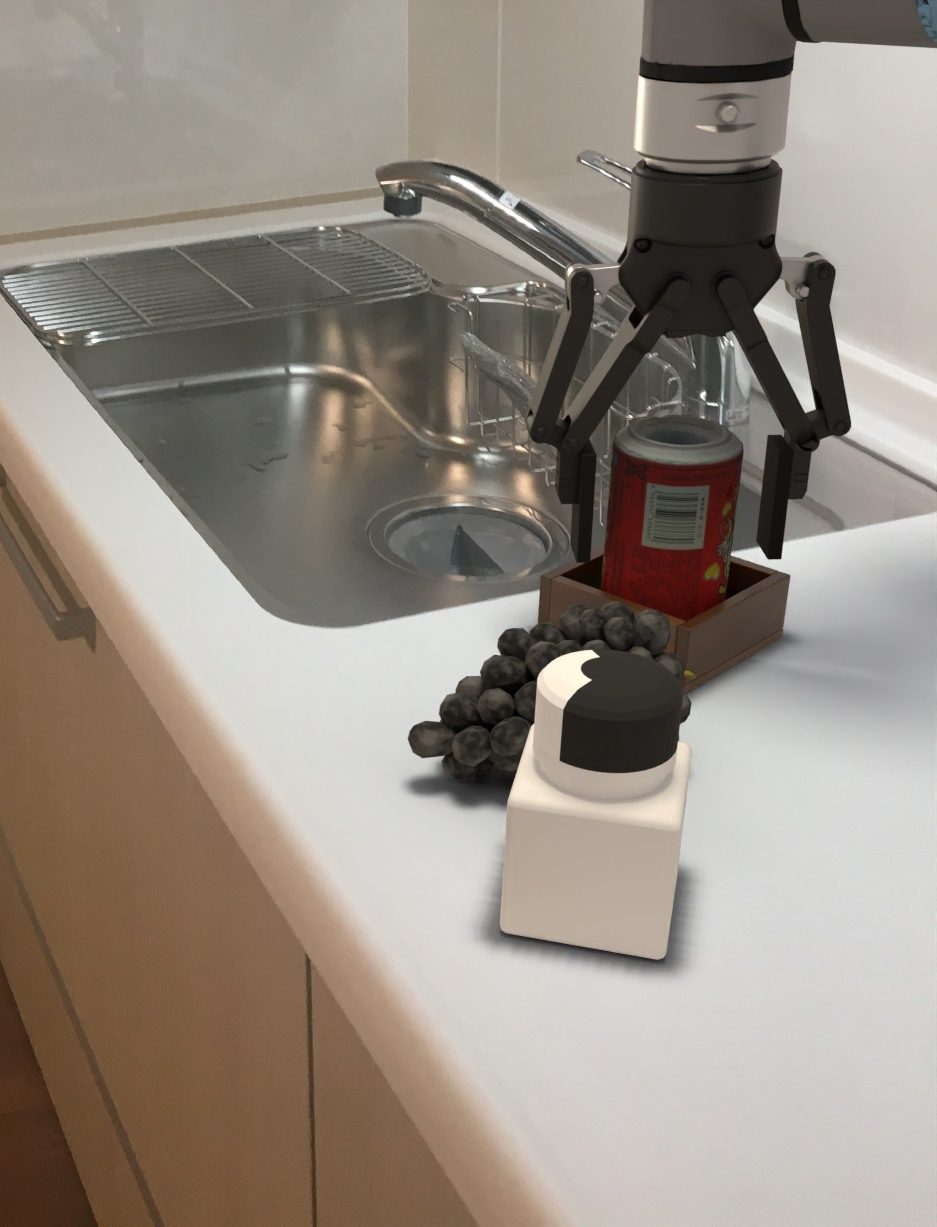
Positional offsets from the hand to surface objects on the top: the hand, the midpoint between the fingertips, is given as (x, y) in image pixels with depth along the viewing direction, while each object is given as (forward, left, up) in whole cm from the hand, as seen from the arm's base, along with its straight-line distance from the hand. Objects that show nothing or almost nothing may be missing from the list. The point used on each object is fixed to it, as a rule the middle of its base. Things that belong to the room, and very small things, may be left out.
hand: (673, 551), depth 97 cm
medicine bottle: (-13, +25, -6) cm, 28 cm away
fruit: (-4, +16, -6) cm, 18 cm away
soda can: (0, 0, -5) cm, 5 cm away
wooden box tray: (0, 0, -6) cm, 6 cm away
